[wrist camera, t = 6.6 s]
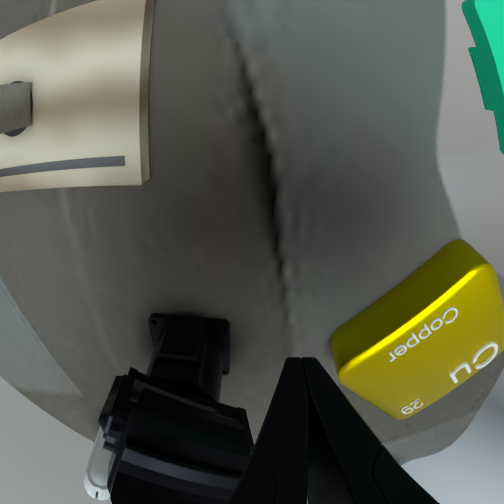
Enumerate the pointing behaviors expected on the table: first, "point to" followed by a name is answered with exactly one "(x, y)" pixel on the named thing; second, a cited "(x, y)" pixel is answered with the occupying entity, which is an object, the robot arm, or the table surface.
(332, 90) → the table surface
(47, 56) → the bolt plate
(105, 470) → the photo printer
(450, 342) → the element tile
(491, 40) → the camera mount
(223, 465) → the robot arm
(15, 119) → the sliding leg
